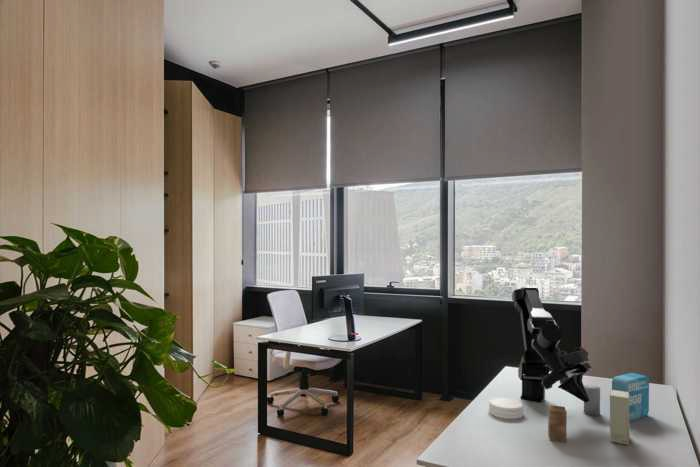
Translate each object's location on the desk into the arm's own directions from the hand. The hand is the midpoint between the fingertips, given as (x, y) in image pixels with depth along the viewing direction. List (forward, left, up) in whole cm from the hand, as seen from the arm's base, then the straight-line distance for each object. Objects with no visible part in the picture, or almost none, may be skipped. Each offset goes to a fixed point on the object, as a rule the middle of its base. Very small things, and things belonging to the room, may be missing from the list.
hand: (587, 401), depth 131 cm
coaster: (-22, -1, -8) cm, 24 cm away
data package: (+10, +18, -8) cm, 22 cm away
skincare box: (+8, -3, -8) cm, 11 cm away
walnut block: (-6, -12, -8) cm, 15 cm away
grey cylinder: (0, +14, -8) cm, 16 cm away
